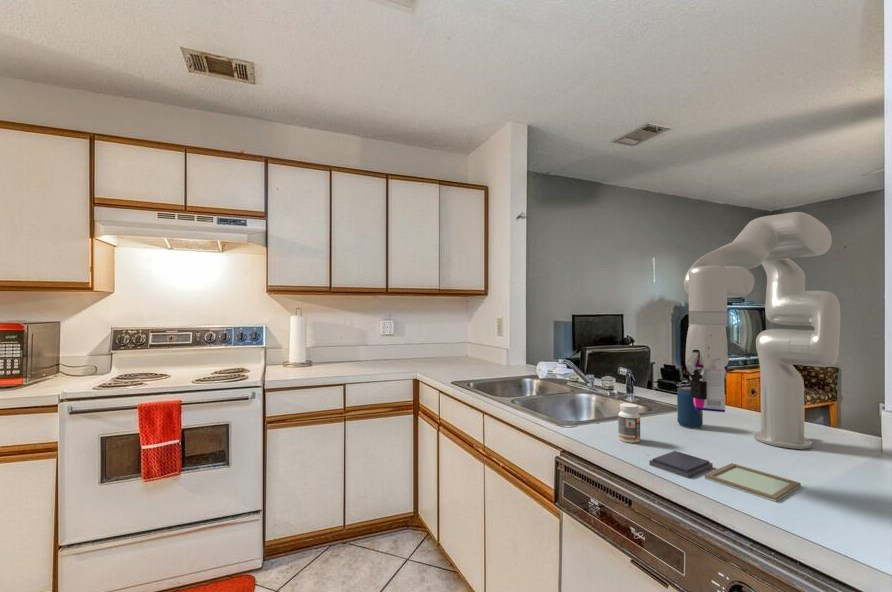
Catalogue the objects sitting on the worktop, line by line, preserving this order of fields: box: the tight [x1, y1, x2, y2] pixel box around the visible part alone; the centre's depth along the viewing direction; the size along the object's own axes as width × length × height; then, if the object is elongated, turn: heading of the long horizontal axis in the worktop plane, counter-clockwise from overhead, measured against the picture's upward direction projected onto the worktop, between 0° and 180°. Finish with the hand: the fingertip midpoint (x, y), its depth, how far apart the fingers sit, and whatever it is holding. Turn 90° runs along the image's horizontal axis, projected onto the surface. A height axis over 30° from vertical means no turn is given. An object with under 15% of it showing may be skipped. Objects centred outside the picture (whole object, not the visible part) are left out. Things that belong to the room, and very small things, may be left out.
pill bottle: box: [617, 402, 641, 444], centre depth 118 cm, size 6×6×10 cm
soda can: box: [676, 385, 704, 430], centre depth 132 cm, size 7×7×12 cm
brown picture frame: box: [704, 462, 802, 502], centre depth 90 cm, size 13×13×1 cm
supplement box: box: [693, 360, 726, 413], centre depth 96 cm, size 6×6×12 cm
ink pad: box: [648, 450, 713, 479], centre depth 99 cm, size 11×9×2 cm
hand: (708, 395), depth 96 cm, fingers closed on supplement box, 7 cm apart
